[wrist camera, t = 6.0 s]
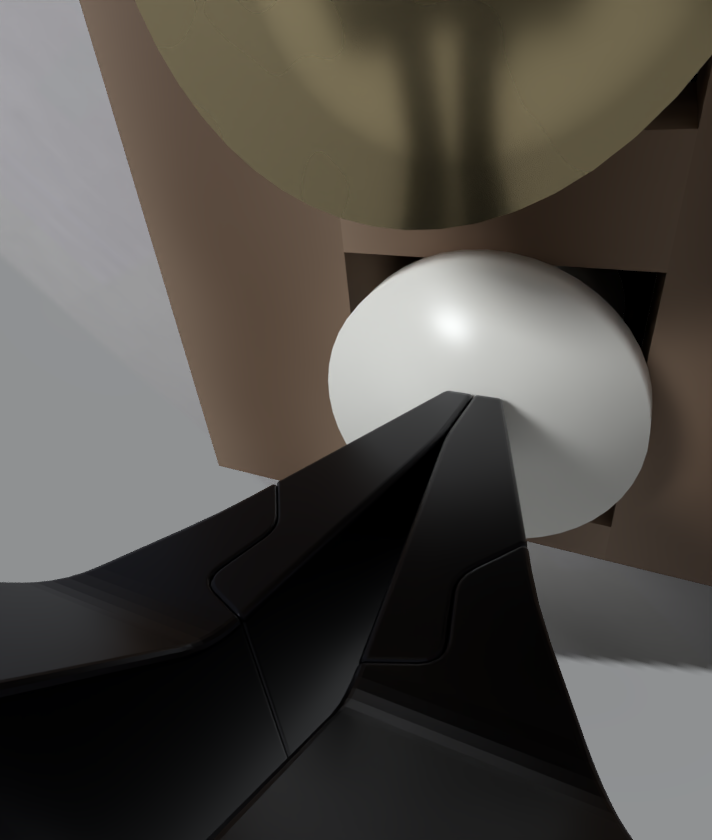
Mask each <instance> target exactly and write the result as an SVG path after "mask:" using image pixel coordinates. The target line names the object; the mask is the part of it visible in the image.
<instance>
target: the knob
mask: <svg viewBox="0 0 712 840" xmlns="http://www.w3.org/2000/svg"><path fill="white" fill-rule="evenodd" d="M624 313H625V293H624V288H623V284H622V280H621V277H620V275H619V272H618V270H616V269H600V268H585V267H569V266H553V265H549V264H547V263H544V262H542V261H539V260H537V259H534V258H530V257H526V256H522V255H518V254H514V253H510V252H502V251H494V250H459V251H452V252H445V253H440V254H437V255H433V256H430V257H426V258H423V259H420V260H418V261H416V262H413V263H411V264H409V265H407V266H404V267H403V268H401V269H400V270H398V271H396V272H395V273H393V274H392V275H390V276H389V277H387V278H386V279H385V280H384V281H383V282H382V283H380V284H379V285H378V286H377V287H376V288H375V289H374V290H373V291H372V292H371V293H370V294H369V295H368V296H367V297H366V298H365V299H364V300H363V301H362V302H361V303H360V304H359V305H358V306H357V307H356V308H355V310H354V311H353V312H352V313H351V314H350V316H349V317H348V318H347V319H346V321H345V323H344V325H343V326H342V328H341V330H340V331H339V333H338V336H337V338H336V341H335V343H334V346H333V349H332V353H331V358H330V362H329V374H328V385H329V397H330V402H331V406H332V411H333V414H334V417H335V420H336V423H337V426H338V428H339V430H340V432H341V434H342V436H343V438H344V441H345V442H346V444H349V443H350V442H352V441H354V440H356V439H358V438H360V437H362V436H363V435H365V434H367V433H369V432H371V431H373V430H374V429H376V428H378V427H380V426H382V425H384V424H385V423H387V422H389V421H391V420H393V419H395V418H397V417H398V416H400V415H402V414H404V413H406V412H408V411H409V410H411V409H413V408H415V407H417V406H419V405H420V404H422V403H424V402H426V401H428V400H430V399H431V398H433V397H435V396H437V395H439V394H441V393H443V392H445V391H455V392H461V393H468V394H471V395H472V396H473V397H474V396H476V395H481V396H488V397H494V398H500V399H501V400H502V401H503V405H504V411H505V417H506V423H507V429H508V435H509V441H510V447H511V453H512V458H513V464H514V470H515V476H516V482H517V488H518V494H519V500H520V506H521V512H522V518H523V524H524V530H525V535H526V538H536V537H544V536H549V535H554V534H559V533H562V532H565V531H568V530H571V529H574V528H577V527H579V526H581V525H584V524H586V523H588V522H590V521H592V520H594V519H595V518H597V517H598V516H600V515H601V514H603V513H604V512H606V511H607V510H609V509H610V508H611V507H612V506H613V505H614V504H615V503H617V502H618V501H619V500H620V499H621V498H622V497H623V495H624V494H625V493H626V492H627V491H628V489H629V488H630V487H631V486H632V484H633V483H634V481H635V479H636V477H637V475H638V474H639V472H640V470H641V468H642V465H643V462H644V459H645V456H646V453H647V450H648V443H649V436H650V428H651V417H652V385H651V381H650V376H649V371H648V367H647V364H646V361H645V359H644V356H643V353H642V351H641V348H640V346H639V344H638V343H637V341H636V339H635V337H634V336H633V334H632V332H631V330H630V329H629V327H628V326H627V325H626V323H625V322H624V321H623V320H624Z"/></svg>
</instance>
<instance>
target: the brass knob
mask: <svg viewBox="0 0 712 840" xmlns="http://www.w3.org/2000/svg"><path fill="white" fill-rule="evenodd" d="M135 2H136V4H137V7H138V9H139V11H140V13H141V15H142V17H143V19H144V21H145V24H146V26H147V28H148V30H149V32H150V34H151V36H152V38H153V40H154V42H155V44H156V46H157V48H158V50H159V52H160V54H161V55H162V57H163V59H164V60H165V62H166V64H167V65H168V67H169V69H170V70H171V72H172V74H173V76H174V77H175V79H176V81H177V82H178V84H179V85H180V87H181V88H182V90H183V91H184V92H185V94H186V95H187V97H188V98H189V99H190V101H191V102H192V104H193V105H194V106H195V108H196V109H197V110H198V112H199V113H200V115H201V116H202V117H203V118H204V120H205V121H206V122H207V123H208V124H209V125H210V126H211V128H212V129H213V130H214V131H215V132H216V133H217V134H218V135H219V137H220V138H221V139H222V140H223V141H224V142H225V143H226V145H227V146H229V147H230V148H231V149H232V150H233V151H234V152H235V153H236V154H237V155H238V156H239V157H240V158H242V159H243V160H244V161H245V162H246V163H247V164H248V165H249V166H250V167H251V168H252V169H254V170H255V171H256V172H258V173H259V174H260V175H262V176H263V177H265V178H266V179H267V180H269V181H270V182H271V183H273V184H274V185H275V186H277V187H278V188H280V189H281V190H283V191H285V192H286V193H288V194H290V195H292V196H293V197H295V198H297V199H299V200H301V201H302V202H304V203H306V204H308V205H309V206H312V207H314V208H317V209H319V210H322V211H324V212H327V213H329V214H332V215H334V216H336V217H339V218H342V219H346V220H350V221H354V222H358V223H361V224H365V225H369V226H374V227H383V228H391V229H400V230H433V229H446V228H452V227H458V226H464V225H470V224H476V223H480V222H483V221H487V220H490V219H493V218H496V217H500V216H503V215H506V214H509V213H513V212H516V211H518V210H520V209H522V208H524V207H527V206H529V205H531V204H533V203H535V202H538V201H540V200H542V199H544V198H547V197H549V196H551V195H553V194H555V193H557V192H558V191H560V190H562V189H563V188H565V187H566V186H568V185H570V184H571V183H573V182H575V181H576V180H578V179H580V178H581V177H583V176H584V175H586V174H588V173H589V172H591V171H593V170H594V169H596V168H597V167H598V166H599V165H601V164H602V163H603V162H605V161H606V160H607V159H608V158H610V157H611V156H612V155H613V154H615V153H616V152H617V151H619V150H620V149H621V148H622V147H624V146H625V145H626V144H628V143H629V142H630V141H631V140H633V139H634V138H635V137H636V136H637V135H638V134H639V133H640V132H641V131H642V130H643V129H644V128H645V127H647V126H648V125H649V124H650V123H651V122H652V121H653V120H654V119H655V118H656V117H657V116H658V115H659V114H660V113H661V112H662V111H663V110H664V109H665V108H666V107H667V106H668V105H669V104H670V103H671V102H672V101H673V100H674V99H675V98H676V97H677V96H678V95H679V94H680V93H681V91H682V90H683V89H684V88H685V87H686V85H687V84H688V83H689V82H690V81H691V79H692V78H693V77H694V76H695V75H696V73H697V72H698V71H699V70H700V69H701V67H702V66H703V65H704V64H705V63H706V61H707V60H708V59H709V58H710V57H711V55H712V0H135Z"/></svg>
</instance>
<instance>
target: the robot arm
mask: <svg viewBox="0 0 712 840" xmlns="http://www.w3.org/2000/svg"><path fill="white" fill-rule="evenodd" d="M0 840H633V839H632V838H631V836H630V835H629V833H628V832H627V830H626V829H625V827H624V825H623V824H622V822H621V821H620V819H619V817H618V816H617V814H616V812H615V810H614V808H613V806H612V804H611V802H610V800H609V798H608V796H607V793H606V791H605V789H604V787H603V785H602V782H601V780H600V778H599V775H598V773H597V770H596V768H595V765H594V763H593V761H592V758H591V755H590V752H589V750H588V747H587V745H586V742H585V739H584V736H583V733H582V730H581V727H580V725H579V722H578V719H577V716H576V713H575V710H574V708H573V705H572V702H571V699H570V696H569V693H568V690H567V688H566V685H565V682H564V679H563V677H562V674H561V671H560V668H559V665H558V662H557V659H556V656H555V653H554V651H553V648H552V645H551V642H550V639H549V635H548V632H547V629H546V626H545V622H544V619H543V616H542V612H541V609H540V606H539V602H538V597H537V593H536V588H535V583H534V579H533V574H532V569H531V563H530V557H529V551H528V549H527V541H526V535H525V530H524V524H523V518H522V512H521V506H520V500H519V494H518V488H517V482H516V476H515V470H514V464H513V458H512V453H511V447H510V441H509V435H508V429H507V423H506V417H505V411H504V405H503V401H502V400H501V399H500V398H494V397H488V396H481V395H476V396H474V397H473V396H472V395H471V394H468V393H461V392H455V391H445V392H443V393H441V394H439V395H437V396H435V397H433V398H431V399H430V400H428V401H426V402H424V403H422V404H420V405H419V406H417V407H415V408H413V409H411V410H409V411H408V412H406V413H404V414H402V415H400V416H398V417H397V418H395V419H393V420H391V421H389V422H387V423H385V424H384V425H382V426H380V427H378V428H376V429H374V430H373V431H371V432H369V433H367V434H365V435H363V436H362V437H360V438H358V439H356V440H354V441H352V442H350V443H349V444H347V445H345V446H343V447H341V448H339V449H338V450H336V451H334V452H332V453H330V454H328V455H327V456H325V457H323V458H321V459H319V460H317V461H316V462H314V463H312V464H310V465H308V466H306V467H304V468H303V469H301V470H299V471H297V472H295V473H293V474H292V475H290V476H288V477H286V478H284V479H282V480H280V481H279V482H278V483H277V486H276V485H274V484H273V485H271V486H269V487H267V488H265V489H264V490H262V491H260V492H258V493H256V494H254V495H253V496H251V497H249V498H247V499H245V500H243V501H241V502H239V503H237V504H235V505H233V506H231V507H229V508H227V509H225V510H223V511H221V512H219V513H217V514H215V515H213V516H211V517H209V518H207V519H204V520H202V521H200V522H198V523H196V524H194V525H191V526H189V527H187V528H185V529H183V530H181V531H178V532H176V533H174V534H171V535H170V536H167V537H165V538H162V539H160V540H158V541H156V542H153V543H151V544H149V545H147V546H144V547H142V548H140V549H137V550H135V551H133V552H131V553H129V554H126V555H124V556H122V557H119V558H117V559H115V560H113V561H111V562H108V563H106V564H104V565H101V566H99V567H96V568H94V569H92V570H89V571H86V572H84V573H81V574H78V575H74V576H71V577H67V578H62V579H57V580H52V581H44V582H31V583H6V582H2V583H1V582H0Z"/></svg>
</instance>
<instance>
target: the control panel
mask: <svg viewBox="0 0 712 840" xmlns="http://www.w3.org/2000/svg"><path fill="white" fill-rule="evenodd" d="M79 1H80V4H81V7H82V11H83V14H84V17H85V21H86V24H87V27H88V31H89V34H90V37H91V41H92V44H93V47H94V51H95V54H96V57H97V61H98V64H99V67H100V71H101V74H102V77H103V81H104V84H105V87H106V91H107V94H108V97H109V101H110V104H111V107H112V111H113V114H114V117H115V121H116V124H117V127H118V131H119V134H120V137H121V141H122V144H123V147H124V151H125V154H126V157H127V161H128V164H129V167H130V171H131V174H132V177H133V181H134V184H135V187H136V191H137V194H138V197H139V201H140V204H141V207H142V211H143V214H144V217H145V221H146V224H147V227H148V231H149V234H150V237H151V240H152V244H153V247H154V250H155V254H156V257H157V260H158V264H159V267H160V270H161V274H162V277H163V280H164V284H165V287H166V290H167V294H168V297H169V300H170V304H171V307H172V310H173V314H174V317H175V320H176V324H177V327H178V330H179V334H180V337H181V340H182V344H183V347H184V350H185V354H186V357H187V360H188V364H189V367H190V370H191V374H192V377H193V380H194V384H195V387H196V390H197V394H198V397H199V400H200V404H201V407H202V410H203V414H204V417H205V420H206V424H207V427H208V430H209V434H210V437H211V440H212V444H213V447H214V450H215V453H216V457H217V460H218V463H219V466H223V467H227V468H231V469H235V470H239V471H243V472H247V473H251V474H255V475H259V476H264V477H268V478H272V479H276V480H282V479H284V478H286V477H288V476H290V475H292V474H293V473H295V472H297V471H299V470H301V469H303V468H304V467H306V466H308V465H310V464H312V463H314V462H316V461H317V460H319V459H321V458H323V457H325V456H327V455H328V454H330V453H332V452H334V451H336V450H338V449H339V448H341V447H343V446H345V445H347V444H346V442H345V441H344V438H343V436H342V434H341V432H340V430H339V428H338V426H337V423H336V420H335V417H334V414H333V411H332V406H331V402H330V397H329V385H328V374H329V362H330V358H331V353H332V349H333V346H334V343H335V341H336V338H337V336H338V333H339V331H340V330H341V328H342V326H343V325H344V323H345V321H346V319H347V318H348V317H349V316H350V314H351V313H352V312H353V311H354V310H355V308H356V307H357V306H358V305H359V304H360V303H361V302H362V301H363V300H364V299H365V298H366V297H367V296H368V295H369V294H370V293H371V292H372V291H373V290H374V289H375V288H376V287H377V286H378V285H379V284H380V283H382V282H383V281H384V280H385V279H386V278H387V277H389V276H390V275H392V274H393V273H395V272H396V271H398V270H400V269H401V268H403V267H404V266H407V265H409V264H411V263H413V262H416V261H418V260H420V259H423V257H430V256H433V255H437V254H440V253H445V252H452V251H459V250H494V251H502V252H510V253H514V254H518V255H522V256H526V257H530V258H534V259H537V260H539V261H542V262H544V263H547V264H549V265H553V266H569V267H585V268H600V269H616V270H632V271H648V272H657V275H656V279H655V284H654V289H653V294H652V299H651V303H650V308H649V313H648V318H647V323H646V327H645V332H644V337H643V342H642V347H641V351H642V353H643V356H644V359H645V361H646V364H647V367H648V371H649V376H650V381H651V385H652V417H651V428H650V436H649V443H648V450H647V453H646V456H645V459H644V462H643V465H642V468H641V470H640V472H639V474H638V475H637V477H636V479H635V481H634V483H633V484H632V486H631V487H630V488H629V489H628V491H627V492H626V493H625V494H624V495H623V497H622V498H621V499H620V500H619V501H618V502H617V503H615V504H614V505H613V506H612V507H611V508H610V509H609V510H607V511H606V512H604V513H603V514H601V515H600V516H598V517H597V518H595V519H594V520H592V521H590V522H588V523H586V524H584V525H581V526H579V527H577V528H574V529H571V530H568V531H565V532H562V533H559V534H554V535H549V536H544V537H536V538H526V541H529V542H533V543H537V544H541V545H545V546H549V547H553V548H557V549H561V550H566V551H570V552H574V553H578V554H582V555H586V556H590V557H594V558H598V559H602V560H606V561H610V562H615V563H619V564H623V565H627V566H631V567H635V568H639V569H643V570H647V571H651V572H655V573H659V574H664V575H668V576H672V577H676V578H680V579H684V580H688V581H692V582H696V583H700V584H704V585H708V586H712V55H711V57H710V58H709V59H708V60H707V61H706V63H705V64H704V65H703V66H702V67H701V69H700V70H699V73H698V78H697V82H691V83H688V84H687V85H686V87H685V88H684V89H683V90H682V91H681V93H680V94H679V95H678V96H677V97H676V98H675V99H674V100H673V101H672V102H671V103H670V104H669V105H668V106H667V107H666V108H665V109H664V110H663V111H662V112H661V113H660V114H659V115H658V116H657V117H656V118H655V119H654V120H653V121H652V122H651V123H650V124H649V125H648V126H647V127H645V128H644V129H643V130H642V131H641V132H640V133H639V134H638V135H637V136H636V137H635V138H634V139H633V140H631V141H630V142H629V143H628V144H626V145H625V146H624V147H622V148H621V149H620V150H619V151H617V152H616V153H615V154H613V155H612V156H611V157H610V158H608V159H607V160H606V161H605V162H603V163H602V164H601V165H599V166H598V167H597V168H596V169H594V170H593V171H591V172H589V173H588V174H586V175H584V176H583V177H581V178H580V179H578V180H576V181H575V182H573V183H571V184H570V185H568V186H566V187H565V188H563V189H562V190H560V191H558V192H557V193H555V194H553V195H551V196H549V197H547V198H544V199H542V200H540V201H538V202H535V203H533V204H531V205H529V206H527V207H524V208H522V209H520V210H518V211H516V212H513V213H509V214H506V215H503V216H500V217H496V218H493V219H490V220H487V221H483V222H480V223H476V224H470V225H464V226H458V227H452V228H446V229H433V230H400V229H391V228H383V227H374V226H369V225H365V224H361V223H358V222H354V221H350V220H346V219H342V218H339V217H336V216H334V215H332V214H329V213H327V212H324V211H322V210H319V209H317V208H314V207H312V206H309V205H308V204H306V203H304V202H302V201H301V200H299V199H297V198H295V197H293V196H292V195H290V194H288V193H286V192H285V191H283V190H281V189H280V188H278V187H277V186H275V185H274V184H273V183H271V182H270V181H269V180H267V179H266V178H265V177H263V176H262V175H260V174H259V173H258V172H256V171H255V170H254V169H252V168H251V167H250V166H249V165H248V164H247V163H246V162H245V161H244V160H243V159H242V158H240V157H239V156H238V155H237V154H236V153H235V152H234V151H233V150H232V149H231V148H230V147H229V146H227V145H226V143H225V142H224V141H223V140H222V139H221V138H220V137H219V135H218V134H217V133H216V132H215V131H214V130H213V129H212V128H211V126H210V125H209V124H208V123H207V122H206V121H205V120H204V118H203V117H202V116H201V115H200V113H199V112H198V110H197V109H196V108H195V106H194V105H193V104H192V102H191V101H190V99H189V98H188V97H187V95H186V94H185V92H184V91H183V90H182V88H181V87H180V85H179V84H178V82H177V81H176V79H175V77H174V76H173V74H172V72H171V70H170V69H169V67H168V65H167V64H166V62H165V60H164V59H163V57H162V55H161V54H160V52H159V50H158V48H157V46H156V44H155V42H154V40H153V38H152V36H151V34H150V32H149V30H148V28H147V26H146V24H145V21H144V19H143V17H142V15H141V13H140V11H139V9H138V7H137V4H136V2H135V0H79Z"/></svg>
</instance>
